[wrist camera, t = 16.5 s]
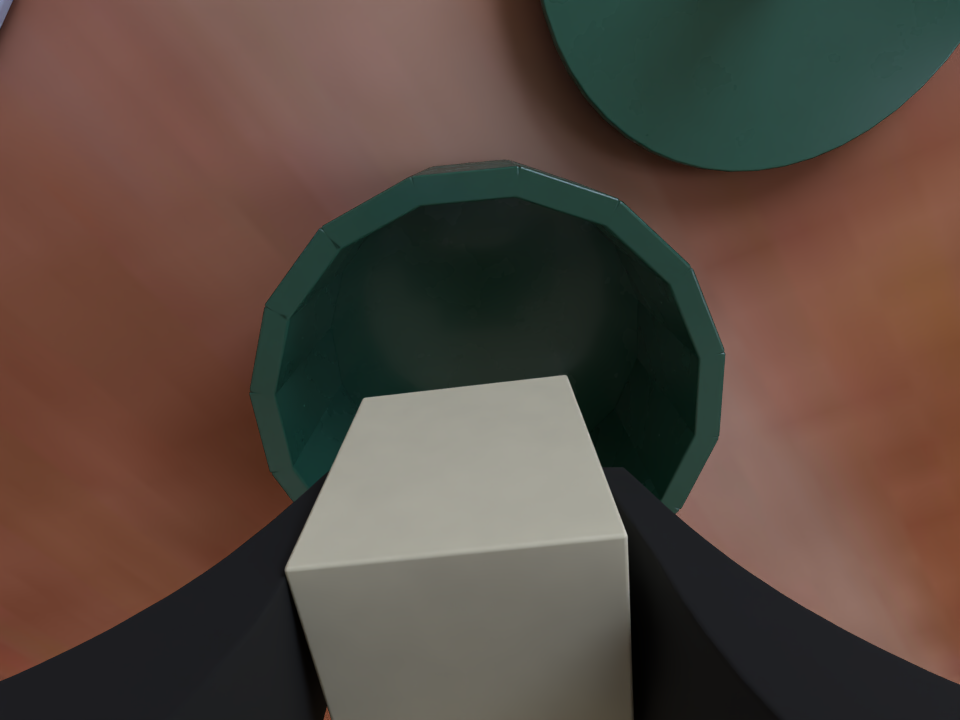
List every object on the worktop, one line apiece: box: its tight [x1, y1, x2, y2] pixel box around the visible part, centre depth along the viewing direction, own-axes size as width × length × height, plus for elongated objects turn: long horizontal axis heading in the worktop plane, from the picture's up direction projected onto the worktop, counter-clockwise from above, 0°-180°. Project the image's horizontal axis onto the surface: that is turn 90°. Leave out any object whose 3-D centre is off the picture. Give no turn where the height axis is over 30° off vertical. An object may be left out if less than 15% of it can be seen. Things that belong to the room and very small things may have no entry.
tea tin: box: [250, 160, 725, 514], centre depth 18 cm, size 13×13×6 cm
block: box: [285, 375, 634, 720], centre depth 10 cm, size 4×4×5 cm
